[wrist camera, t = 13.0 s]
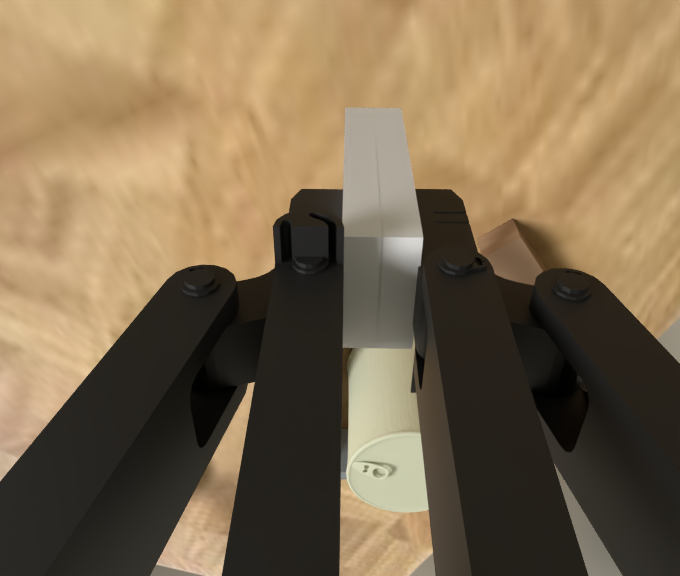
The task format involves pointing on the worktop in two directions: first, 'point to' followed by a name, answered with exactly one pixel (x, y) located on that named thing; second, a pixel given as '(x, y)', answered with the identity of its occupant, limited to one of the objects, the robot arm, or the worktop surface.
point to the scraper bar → (511, 254)
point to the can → (385, 431)
